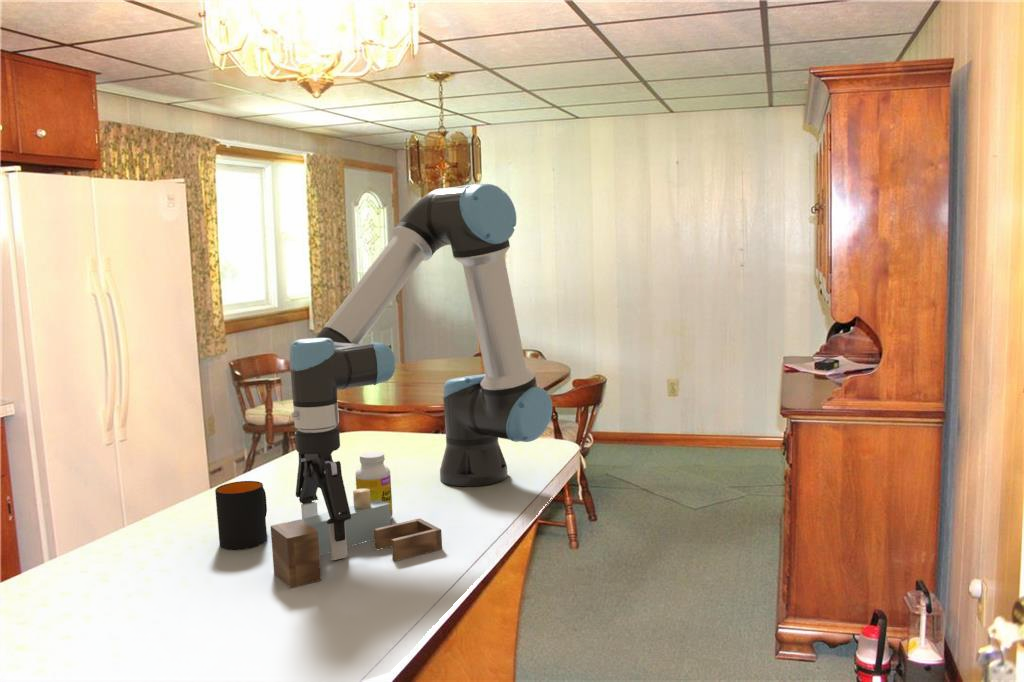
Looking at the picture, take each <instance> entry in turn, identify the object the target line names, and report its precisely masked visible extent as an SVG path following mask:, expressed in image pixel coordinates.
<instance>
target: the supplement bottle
mask: <svg viewBox="0 0 1024 682" xmlns="http://www.w3.org/2000/svg"><path fill="white" fill-rule="evenodd" d="M384 461H385V453H384V452H383V451H382V452H380V451H369V452H368V451H367V452H364V453H361V454H360V455H359V463H360V465H361V466H360V467H358V468H357V469H356V471H355V486H356V489H355V490H357V489H369V490H370V500H371V501H373V500H377V499H378V500H381V501H384V502H386V503H389V504H390V519H391V520H392V518H393V498H392V497H393V496H392V481H391V478H392V477H391V470H390V468H389V467H388V466H386V465H385V464H384Z"/></svg>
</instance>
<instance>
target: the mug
mask: <svg viewBox="0 0 1024 682" xmlns="http://www.w3.org/2000/svg"><path fill="white" fill-rule="evenodd" d="M214 491H215V505H216V518H217V527H218V528H217V529H218V540H219V547H220V548H221V549H223V550H226V551H243V550H245V551H246V550H249V549H250V550H251V549H254V548H258V547H259V546H262V545H263V544H265V543H266V542H267V540H268V532H267V522H266V521H267V520H266V516H267V512H268V507H267V495H266V490H265V488H264V484H263V483H262V482H261V481H257V480H256V481H255V480H242V481H234V482H233V481H232V482H228V483H225V484H223V485H220V486H217V487H216V488H215V490H214Z"/></svg>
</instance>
